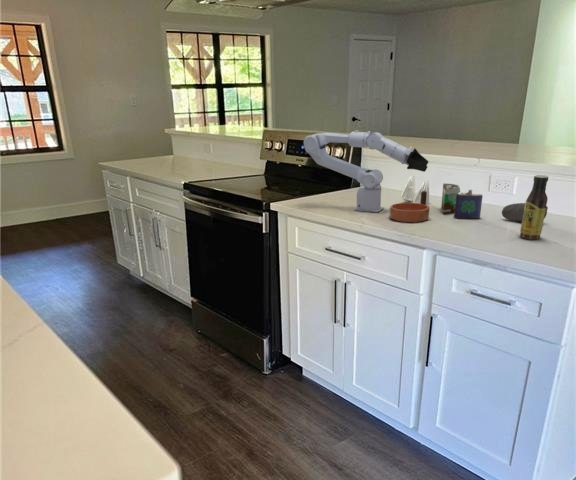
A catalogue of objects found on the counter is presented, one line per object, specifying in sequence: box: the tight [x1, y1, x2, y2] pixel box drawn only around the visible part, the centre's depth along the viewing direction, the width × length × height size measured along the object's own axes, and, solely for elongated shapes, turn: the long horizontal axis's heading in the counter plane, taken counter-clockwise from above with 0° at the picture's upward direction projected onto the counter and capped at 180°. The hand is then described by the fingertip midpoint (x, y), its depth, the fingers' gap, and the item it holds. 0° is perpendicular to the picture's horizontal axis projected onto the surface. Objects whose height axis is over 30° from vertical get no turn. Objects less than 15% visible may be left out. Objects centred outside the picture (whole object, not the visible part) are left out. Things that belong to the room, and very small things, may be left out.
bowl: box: [389, 202, 430, 223], centre depth 192 cm, size 14×14×4 cm
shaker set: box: [400, 176, 430, 205], centre depth 215 cm, size 12×4×11 cm, turn 48°
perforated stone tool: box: [501, 202, 549, 223], centre depth 182 cm, size 15×5×7 cm, turn 51°
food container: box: [440, 182, 461, 215], centre depth 199 cm, size 12×6×10 cm, turn 168°
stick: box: [420, 190, 427, 205], centre depth 201 cm, size 2×2×8 cm
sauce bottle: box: [519, 174, 549, 240], centre depth 160 cm, size 7×6×20 cm
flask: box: [454, 189, 483, 220], centre depth 188 cm, size 9×3×11 cm, turn 74°
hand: (426, 166), depth 193 cm, fingers open, 7 cm apart
